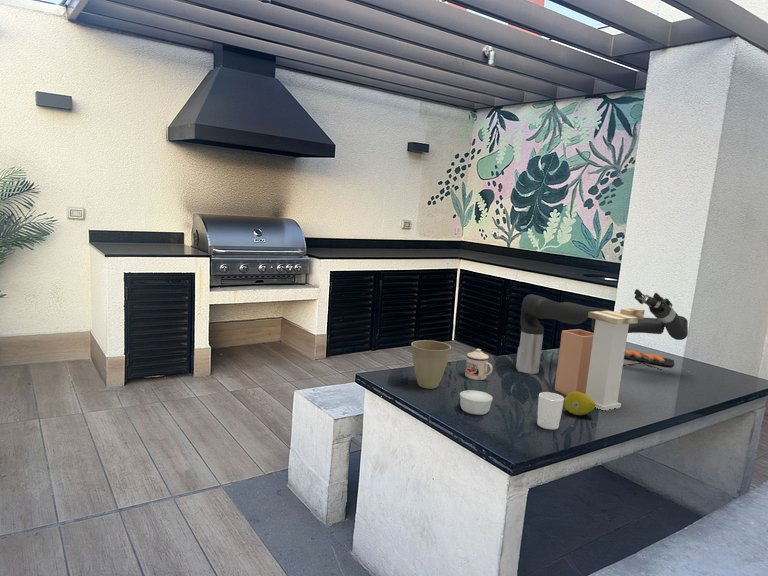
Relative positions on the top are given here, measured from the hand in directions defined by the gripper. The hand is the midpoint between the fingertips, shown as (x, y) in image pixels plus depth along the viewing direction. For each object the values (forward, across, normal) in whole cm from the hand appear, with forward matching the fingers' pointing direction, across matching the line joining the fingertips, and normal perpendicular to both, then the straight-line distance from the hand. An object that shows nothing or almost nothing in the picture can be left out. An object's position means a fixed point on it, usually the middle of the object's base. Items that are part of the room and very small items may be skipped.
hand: (645, 292), depth 230 cm
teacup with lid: (+33, -28, +64) cm, 77 cm away
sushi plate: (-51, -21, +16) cm, 58 cm away
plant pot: (+56, -27, +77) cm, 99 cm away
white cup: (+43, +19, +70) cm, 84 cm away
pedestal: (+12, +12, +52) cm, 55 cm away
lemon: (+27, +16, +61) cm, 68 cm away
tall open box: (+12, -1, +52) cm, 53 cm away
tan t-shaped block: (+24, +12, +22) cm, 34 cm away
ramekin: (+55, 0, +77) cm, 95 cm away
